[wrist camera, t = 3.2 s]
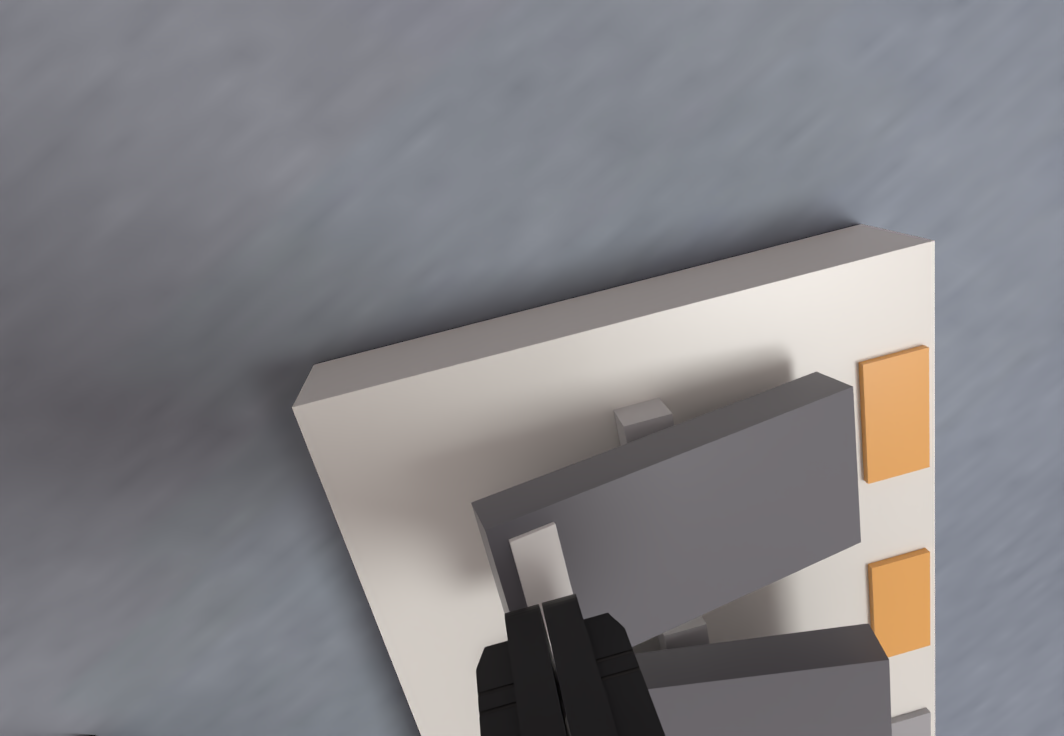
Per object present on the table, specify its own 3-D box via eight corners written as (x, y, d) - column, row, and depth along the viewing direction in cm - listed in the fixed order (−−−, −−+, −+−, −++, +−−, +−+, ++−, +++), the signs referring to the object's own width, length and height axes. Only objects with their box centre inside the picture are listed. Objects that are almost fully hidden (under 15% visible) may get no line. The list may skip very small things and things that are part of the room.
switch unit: (313, 364, 18) (282, 425, 15) (861, 224, 19) (964, 247, 15) (501, 871, 26) (512, 995, 23) (883, 757, 27) (955, 858, 23)
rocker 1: (471, 502, 14) (486, 533, 13) (816, 371, 16) (856, 387, 15) (517, 655, 16) (534, 696, 15) (826, 518, 18) (864, 544, 17)
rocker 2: (527, 667, 18) (524, 707, 17) (868, 623, 17) (891, 662, 16) (560, 777, 20) (559, 821, 19) (874, 743, 19) (895, 788, 17)
